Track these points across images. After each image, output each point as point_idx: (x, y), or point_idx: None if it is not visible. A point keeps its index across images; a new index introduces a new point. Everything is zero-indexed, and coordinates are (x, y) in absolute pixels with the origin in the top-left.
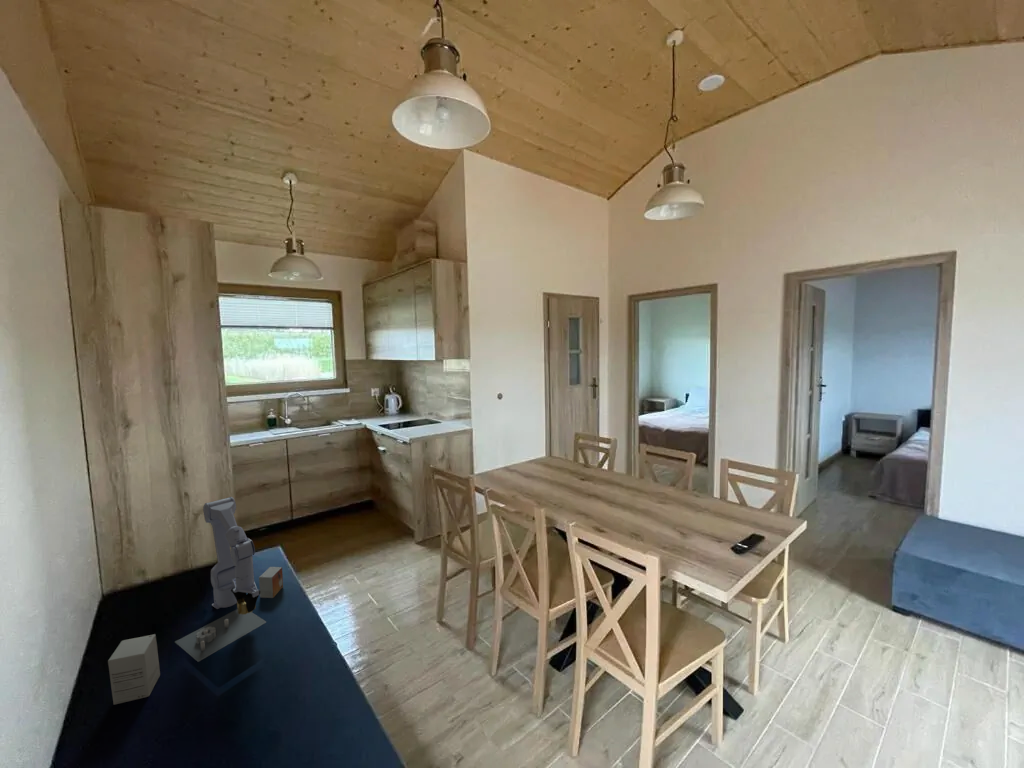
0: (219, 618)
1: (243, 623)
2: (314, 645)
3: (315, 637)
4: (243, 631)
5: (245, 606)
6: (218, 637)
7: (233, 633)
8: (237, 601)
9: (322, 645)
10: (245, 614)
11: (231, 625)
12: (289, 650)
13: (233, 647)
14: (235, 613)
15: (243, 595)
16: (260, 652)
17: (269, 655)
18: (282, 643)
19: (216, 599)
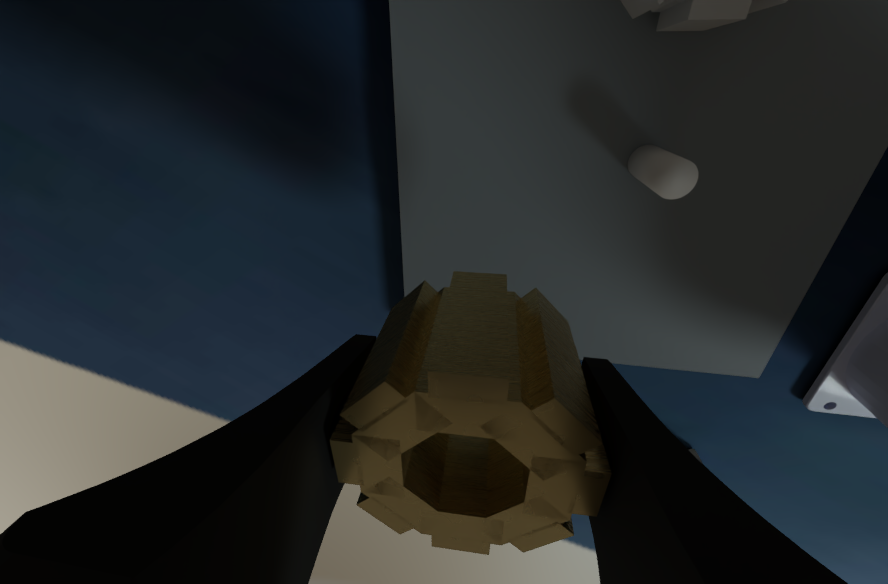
0: (856, 197)
1: (546, 263)
2: (77, 333)
3: (133, 367)
4: (449, 207)
5: (359, 378)
6: (580, 22)
7: (500, 147)
8: (557, 408)
9: (59, 347)
10: (636, 330)
11: (624, 199)
12: (103, 257)
13: (379, 69)
14: (741, 305)
15: (608, 529)
16: (184, 157)
17: (121, 173)
18: (186, 273)
19: None
